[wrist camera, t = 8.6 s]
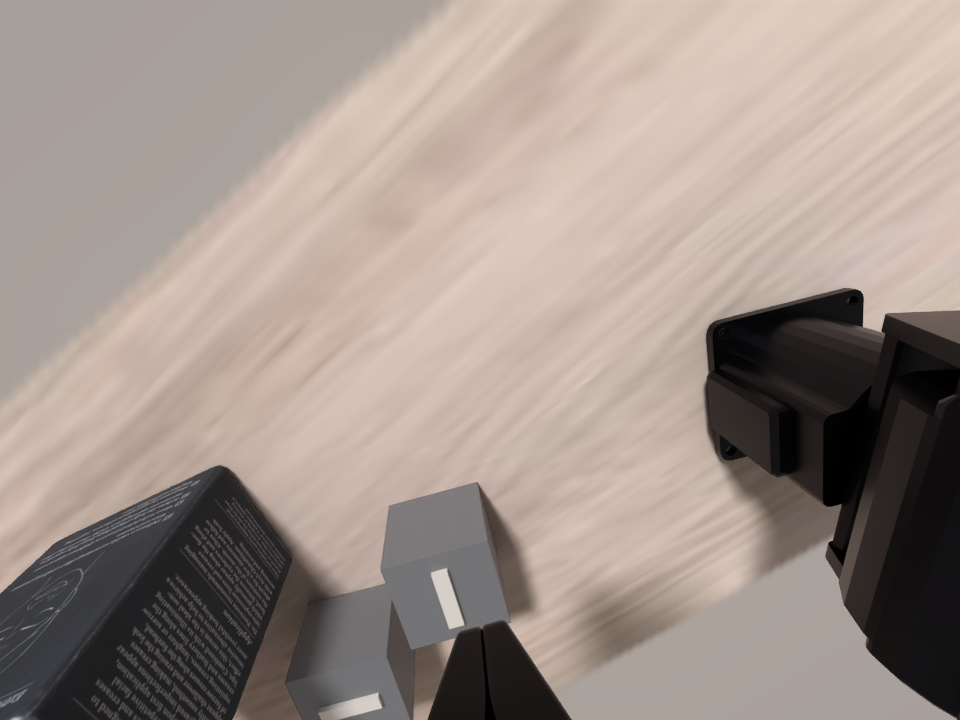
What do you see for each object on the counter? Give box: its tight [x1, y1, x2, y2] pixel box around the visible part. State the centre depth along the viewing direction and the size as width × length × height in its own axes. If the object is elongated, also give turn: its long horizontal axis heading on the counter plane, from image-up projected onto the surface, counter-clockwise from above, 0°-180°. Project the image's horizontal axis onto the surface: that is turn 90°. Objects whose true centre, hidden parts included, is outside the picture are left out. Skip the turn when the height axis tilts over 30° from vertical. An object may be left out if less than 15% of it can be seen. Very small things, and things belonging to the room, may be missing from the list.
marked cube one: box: [381, 482, 511, 650], centre depth 20 cm, size 4×4×4 cm
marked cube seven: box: [285, 584, 415, 720], centre depth 21 cm, size 4×4×4 cm
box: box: [0, 465, 292, 720], centre depth 16 cm, size 8×6×11 cm
